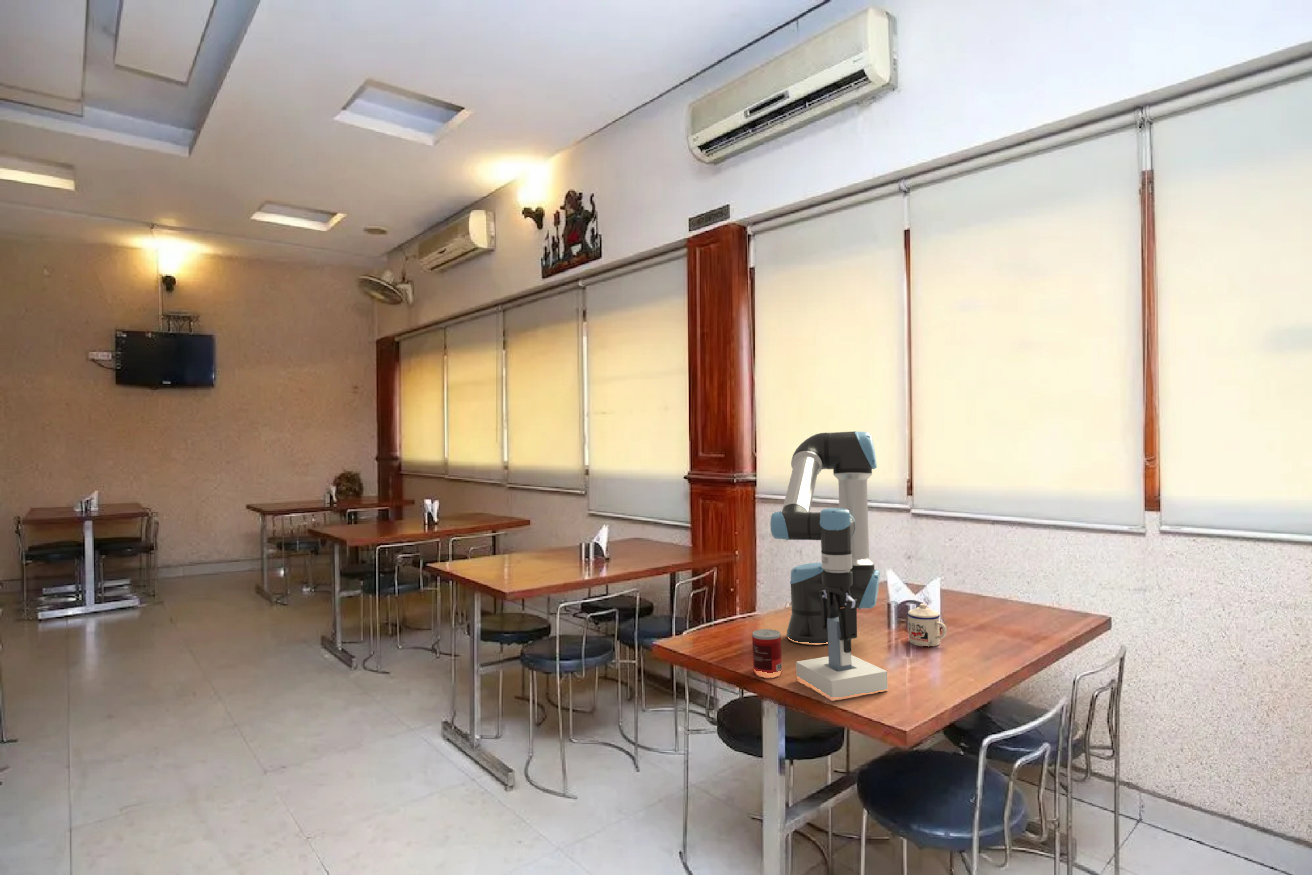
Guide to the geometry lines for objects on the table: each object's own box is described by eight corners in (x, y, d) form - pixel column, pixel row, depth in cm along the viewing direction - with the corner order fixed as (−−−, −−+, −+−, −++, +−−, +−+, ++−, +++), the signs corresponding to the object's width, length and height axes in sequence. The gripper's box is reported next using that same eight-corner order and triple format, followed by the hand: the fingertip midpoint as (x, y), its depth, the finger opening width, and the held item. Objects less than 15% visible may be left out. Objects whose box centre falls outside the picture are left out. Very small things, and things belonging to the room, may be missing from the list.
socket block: (796, 680, 179) (796, 661, 179) (848, 671, 185) (847, 653, 185) (832, 701, 164) (832, 681, 164) (887, 691, 170) (887, 671, 170)
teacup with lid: (902, 642, 209) (900, 603, 209) (920, 636, 214) (919, 599, 214) (937, 651, 199) (936, 611, 199) (955, 645, 204) (954, 606, 204)
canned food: (778, 668, 190) (777, 628, 190) (785, 678, 182) (783, 636, 182) (751, 669, 189) (749, 629, 189) (756, 679, 181) (754, 637, 181)
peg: (828, 669, 176) (827, 618, 176) (842, 666, 177) (840, 616, 177) (838, 673, 172) (836, 621, 172) (851, 671, 174) (849, 619, 174)
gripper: (805, 565, 181) (808, 654, 181) (844, 577, 165) (848, 674, 165) (829, 563, 184) (832, 650, 184) (870, 574, 168) (874, 669, 168)
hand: (840, 661), depth 175 cm, fingers closed on peg, 4 cm apart
